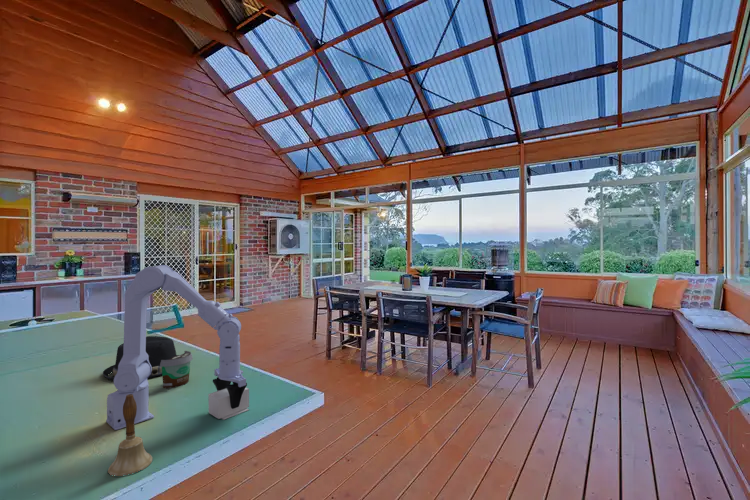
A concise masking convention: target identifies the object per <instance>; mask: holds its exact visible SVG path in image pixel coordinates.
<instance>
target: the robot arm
mask: <svg viewBox="0 0 750 500" xmlns="http://www.w3.org/2000/svg"><path fill="white" fill-rule="evenodd" d="M158 289H159V290H160V289H161V291H169V292H175V293H176V294H177V295H179V296H180V297H182V298H183V299H184V300H185V301H187V302H188V303H190V304H191V305H192V306H194V308H196V309H197V314H198V315H197V316H199V317H200V318H201V320H203V321H204V322H205V323H206V324H208V325H209V326H210V327H211V328H213V329H214V330H216V334H217V336H218V338H219V349H218V350H219V351H218V352H219V363H218V364H219V366H218V368H214V370H213V371H214V373H213V374H214V376H215V377H216V378H214V379H212V383H213V385H214V386H215V388H216V391H219V390H222V389H225V388H227V390H228V393H229V396H230V404H231V408H232V409H234V408H237V407H239V404H240V400H241V397H242V394H243V392H244V390H245V388H247V386H248V383H247V378H246V377H244V376H243V374H244V371H243V370H241V343H240V340H241V338H240V334H239V333H240V332H241V330H242V323H241V321H240V320H239V318H238V317H236V316H233V314H232V313H230V314H229V313H228V312H227V311H226V310H225V309H223V308H222V305H221V303H220V302H219V301H214V300H207V299H205V297H204V296H202V294H201V293H199V292H198V291H197V290H196V289H195V288H194V287H193V286H192V285H191V284H190V283H189V282H188V281H187V280H186V279H185V278H184V277H183V276H181V274H180V273H178V272H177V271H176V270H174V269H173V268H172V267H171V266H169V265H166V264H159V265H155V266H153V265H152V266H147V267H144V268H143V269H141V270H140V271H138V272H136V273H135V277H134V278H133V280H132V281H131V283H130V284H129V286H128V287H127V289H126V290H125V293H124V316H123V317H124V318H123V319H124V320H123V322H124V324H123V343H124V349H123V357H122V359H121V361H120V363H119V365H118V372H117V374H116V375H115V377H113V378H114V380H113V385H114V388H115V389H116V390H115V391H114V392H110V393H109V394H107V399H106V420H105V422H106V423H107V424H108V425H109V426H110V427H111V428H112V429H113V431H119V430H120V429H123V428H126V422H125V419H124V416H123V405H124V402H125V399H126V395H129V394H133V397H134V399H135V401H136V405H137V412H136V417H135V421H134V425H136V424H138V423H142V422H144V421H148V420H151V419H154V418H155V415H154V414H153V413H151V412H150V411H149V396H150V393H149V391H150V390H149V387H150V386H149V380H148V379H149V378H148V377H149V376H150V374H151V372H152V367H151V364H150V363H149V356H148V354H147V353H146V337H147V316H148V315H147V311H148V297H150V296H151V295H152V294H153V293H155V292H156V291H157V290H158Z"/></svg>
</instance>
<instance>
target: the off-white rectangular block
mask: <svg viewBox="0 0 750 500" xmlns="http://www.w3.org/2000/svg"><path fill="white" fill-rule="evenodd" d="M249 407H250V388H248V387H246V388H245V390H244V392H243V394H242V397H241V400H240V404H239V407H237V408H234V409H232V408H231V404H230V396H229V393H228V390H227V388H225V389H222V390H219V391H217V390H216V391H213V392H210V393H208V414H210V415H211V416H213V417H215V418H216V419H218V420H219V419H221V418H222V417H225V416H228V415H230V414H233V413H235V412H238V411H240V410H243V409H245V408H247V409H249Z"/></svg>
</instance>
